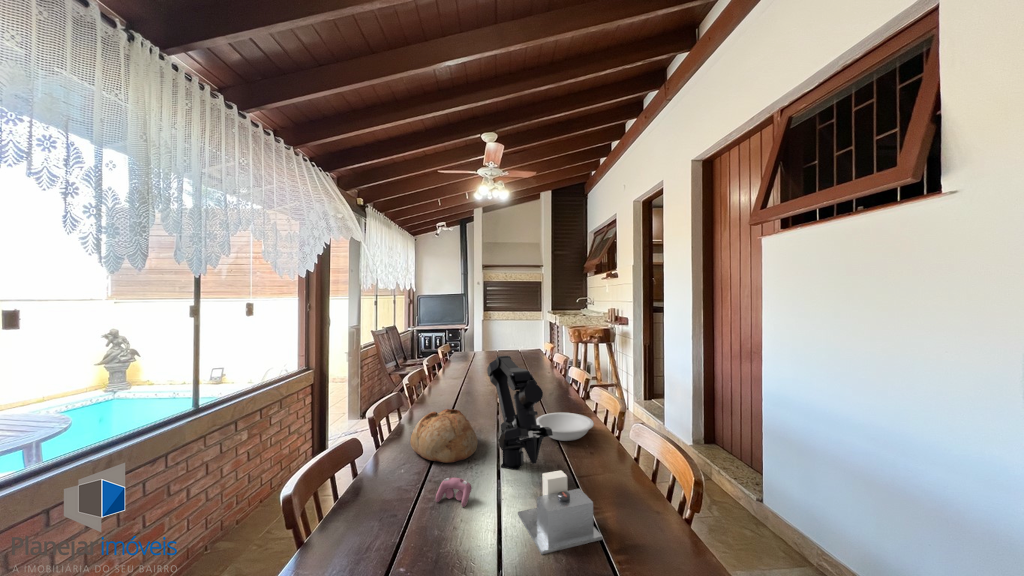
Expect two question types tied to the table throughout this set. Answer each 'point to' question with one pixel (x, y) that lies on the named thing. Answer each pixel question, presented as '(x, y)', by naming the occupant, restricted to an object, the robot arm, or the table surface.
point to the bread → (444, 437)
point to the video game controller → (452, 484)
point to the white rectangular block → (554, 482)
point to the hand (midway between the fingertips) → (534, 463)
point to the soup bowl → (566, 425)
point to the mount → (561, 521)
